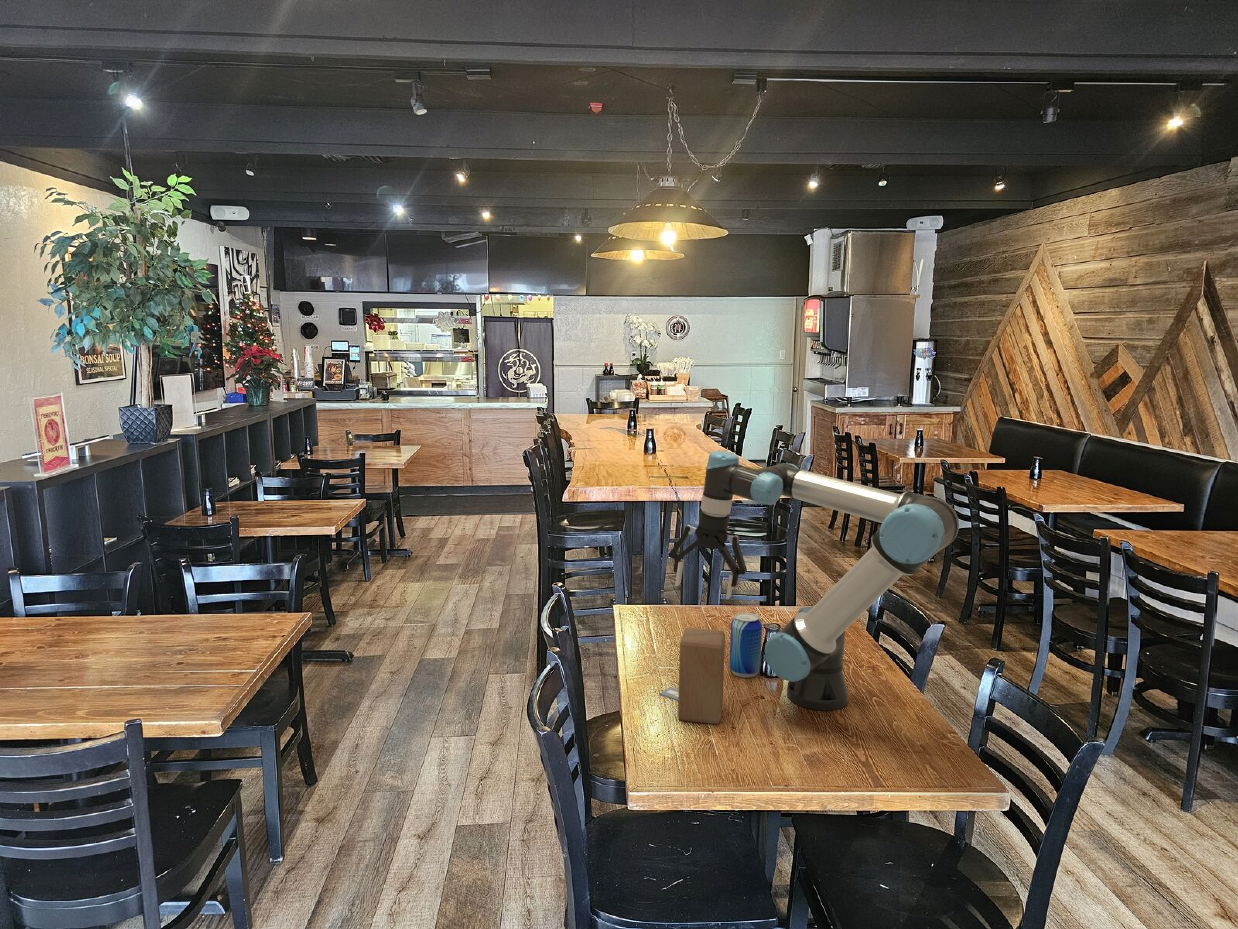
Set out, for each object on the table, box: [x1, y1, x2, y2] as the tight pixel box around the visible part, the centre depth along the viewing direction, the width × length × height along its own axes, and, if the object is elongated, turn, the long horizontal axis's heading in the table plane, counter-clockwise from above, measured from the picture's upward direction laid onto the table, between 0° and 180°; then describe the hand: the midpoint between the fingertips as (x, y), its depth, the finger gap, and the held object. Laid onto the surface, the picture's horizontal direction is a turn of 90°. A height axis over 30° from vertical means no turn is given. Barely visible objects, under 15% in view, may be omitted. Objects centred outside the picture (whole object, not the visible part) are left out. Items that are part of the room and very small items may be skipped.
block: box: [677, 627, 726, 725], centre depth 186 cm, size 10×10×20 cm
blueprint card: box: [658, 686, 679, 702], centre depth 197 cm, size 8×5×1 cm, turn 52°
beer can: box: [729, 612, 763, 679], centre depth 211 cm, size 8×8×16 cm
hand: (702, 591), depth 200 cm, fingers open, 13 cm apart
